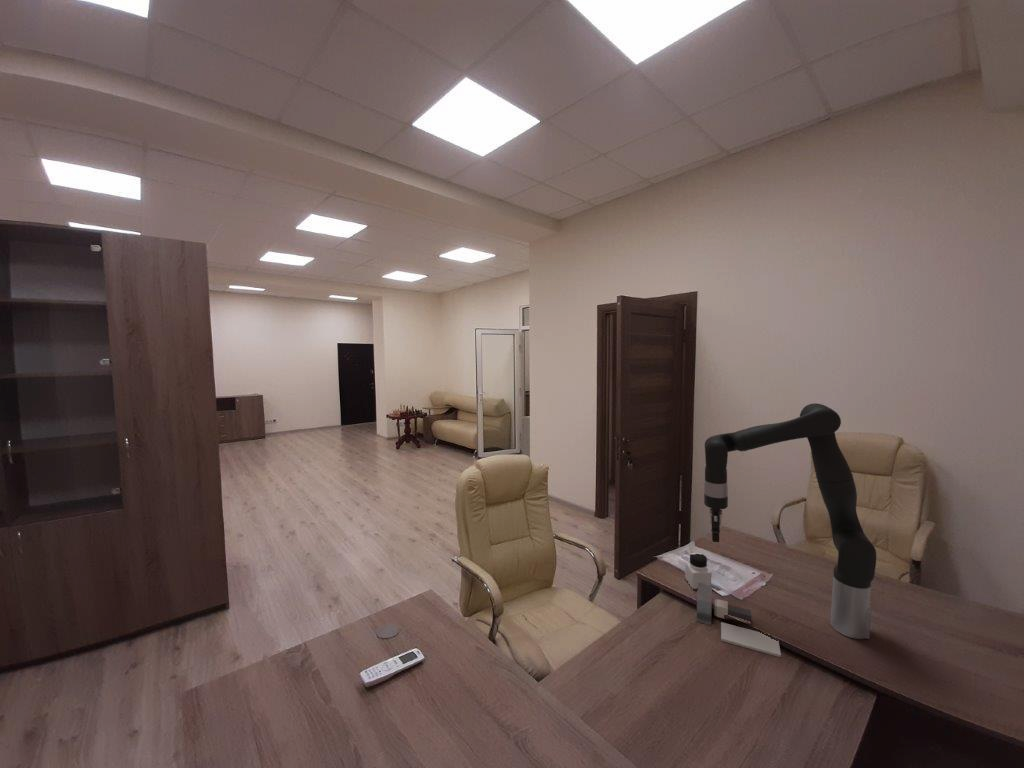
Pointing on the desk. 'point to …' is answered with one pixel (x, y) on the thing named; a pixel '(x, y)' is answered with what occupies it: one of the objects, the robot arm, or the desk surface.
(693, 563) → the medicine bottle
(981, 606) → the desk surface
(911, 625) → the desk surface
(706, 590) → the shaft block
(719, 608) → the plug bar
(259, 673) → the desk surface
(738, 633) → the mat
